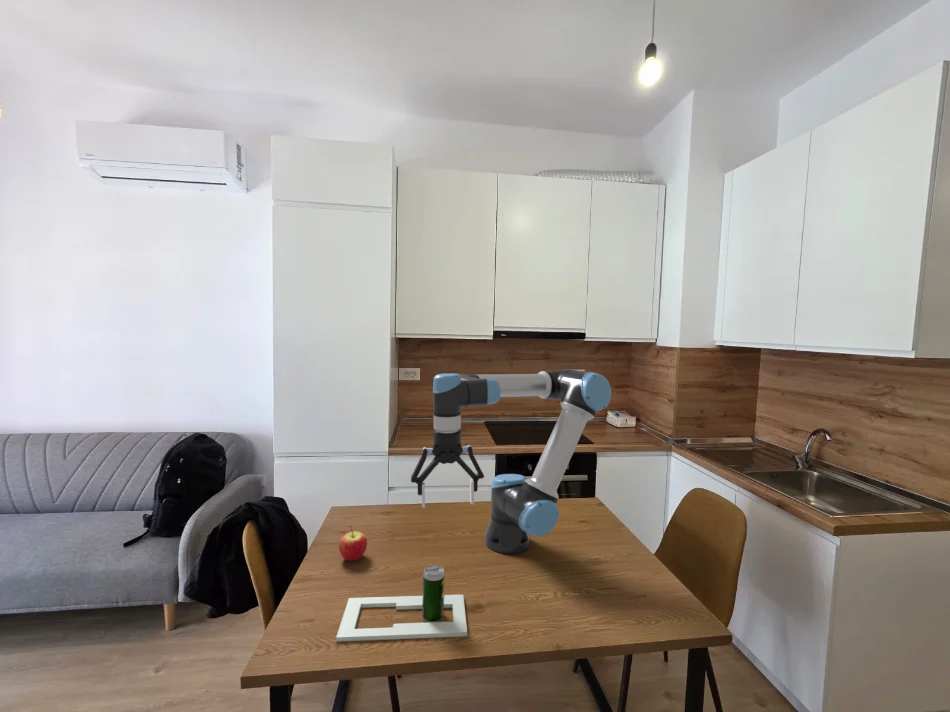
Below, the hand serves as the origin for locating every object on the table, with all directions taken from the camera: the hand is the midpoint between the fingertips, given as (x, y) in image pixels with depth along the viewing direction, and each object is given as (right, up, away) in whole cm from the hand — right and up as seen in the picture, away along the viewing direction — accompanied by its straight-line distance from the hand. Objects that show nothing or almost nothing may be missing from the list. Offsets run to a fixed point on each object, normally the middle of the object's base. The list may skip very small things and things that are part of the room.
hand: (447, 504), depth 116 cm
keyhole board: (-10, -24, -13) cm, 29 cm away
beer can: (-3, -24, -12) cm, 27 cm away
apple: (-31, -22, +13) cm, 40 cm away
